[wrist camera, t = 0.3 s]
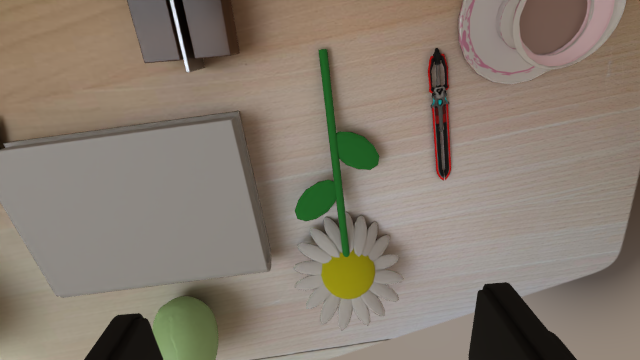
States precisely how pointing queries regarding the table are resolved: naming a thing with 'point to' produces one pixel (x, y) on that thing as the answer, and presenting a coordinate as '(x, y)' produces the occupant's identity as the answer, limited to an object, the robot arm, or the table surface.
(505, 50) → the teacup
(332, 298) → the decorative flower
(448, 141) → the pen
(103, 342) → the robot arm
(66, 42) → the table surface
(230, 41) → the brown twin bars
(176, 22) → the cake knife
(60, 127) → the table surface
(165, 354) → the green eggplant
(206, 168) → the book
